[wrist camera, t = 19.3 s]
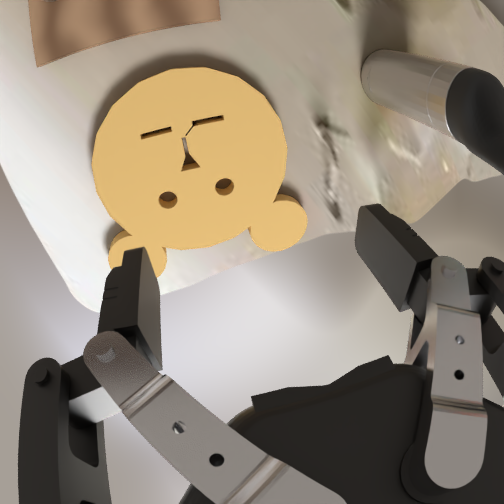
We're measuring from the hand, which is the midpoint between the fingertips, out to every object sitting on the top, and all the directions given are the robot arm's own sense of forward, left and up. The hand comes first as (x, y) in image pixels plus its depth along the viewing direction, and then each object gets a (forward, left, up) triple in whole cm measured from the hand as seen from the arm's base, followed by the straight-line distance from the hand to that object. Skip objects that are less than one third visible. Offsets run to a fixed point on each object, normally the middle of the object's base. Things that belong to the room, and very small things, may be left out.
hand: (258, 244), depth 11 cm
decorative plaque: (+2, +10, -32) cm, 34 cm away
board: (+7, -18, -32) cm, 37 cm away
